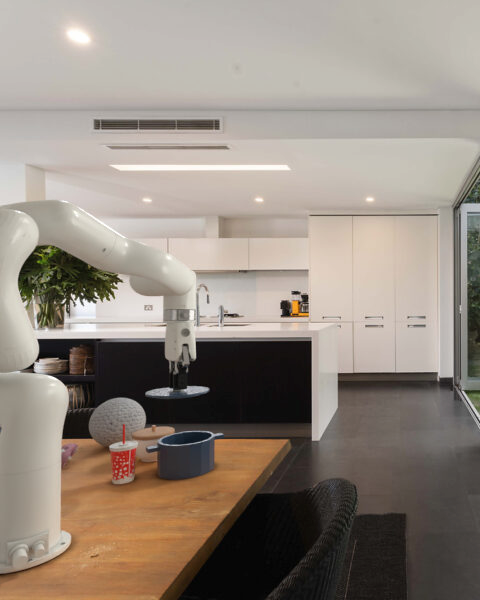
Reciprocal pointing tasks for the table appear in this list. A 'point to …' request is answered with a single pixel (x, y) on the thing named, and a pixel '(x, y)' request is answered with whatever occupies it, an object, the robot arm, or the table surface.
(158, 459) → the pot
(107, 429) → the decorative ball
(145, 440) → the trinket box
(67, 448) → the video game controller
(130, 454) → the beverage cup
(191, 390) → the lid
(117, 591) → the table surface
